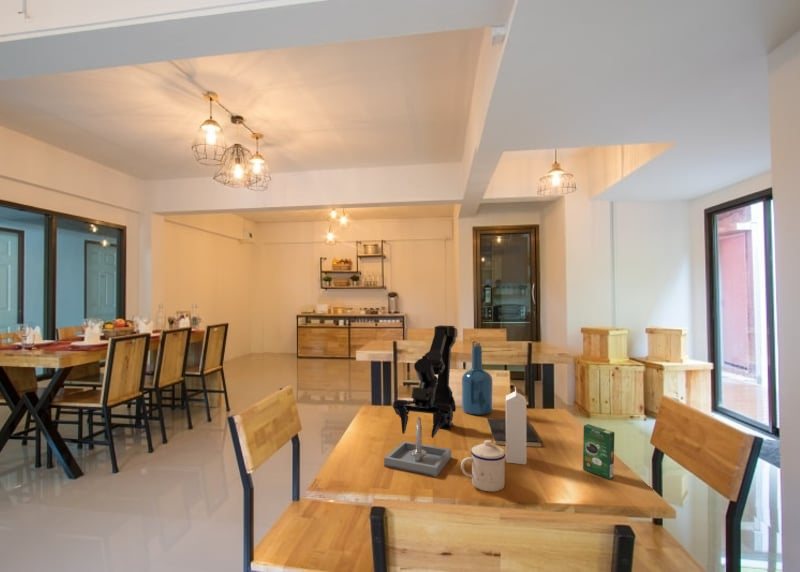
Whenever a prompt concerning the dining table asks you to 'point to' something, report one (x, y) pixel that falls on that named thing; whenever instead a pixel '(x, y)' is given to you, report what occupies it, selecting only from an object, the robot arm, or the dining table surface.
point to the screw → (418, 443)
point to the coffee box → (598, 451)
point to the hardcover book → (500, 432)
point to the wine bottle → (477, 386)
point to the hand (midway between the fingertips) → (417, 435)
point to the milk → (515, 428)
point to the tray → (428, 466)
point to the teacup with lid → (486, 466)
